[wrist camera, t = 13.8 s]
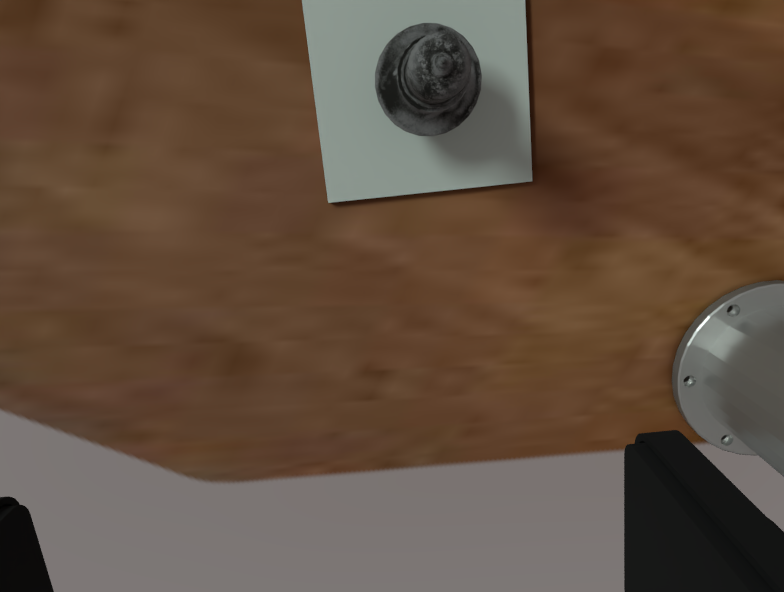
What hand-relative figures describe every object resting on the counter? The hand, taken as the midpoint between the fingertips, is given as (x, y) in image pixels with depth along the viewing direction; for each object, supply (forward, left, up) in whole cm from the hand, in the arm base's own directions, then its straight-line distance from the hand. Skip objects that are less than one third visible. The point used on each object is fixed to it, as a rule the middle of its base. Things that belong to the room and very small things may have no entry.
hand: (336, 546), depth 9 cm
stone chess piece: (-4, -9, -30) cm, 32 cm away
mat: (-4, -9, -30) cm, 32 cm away
